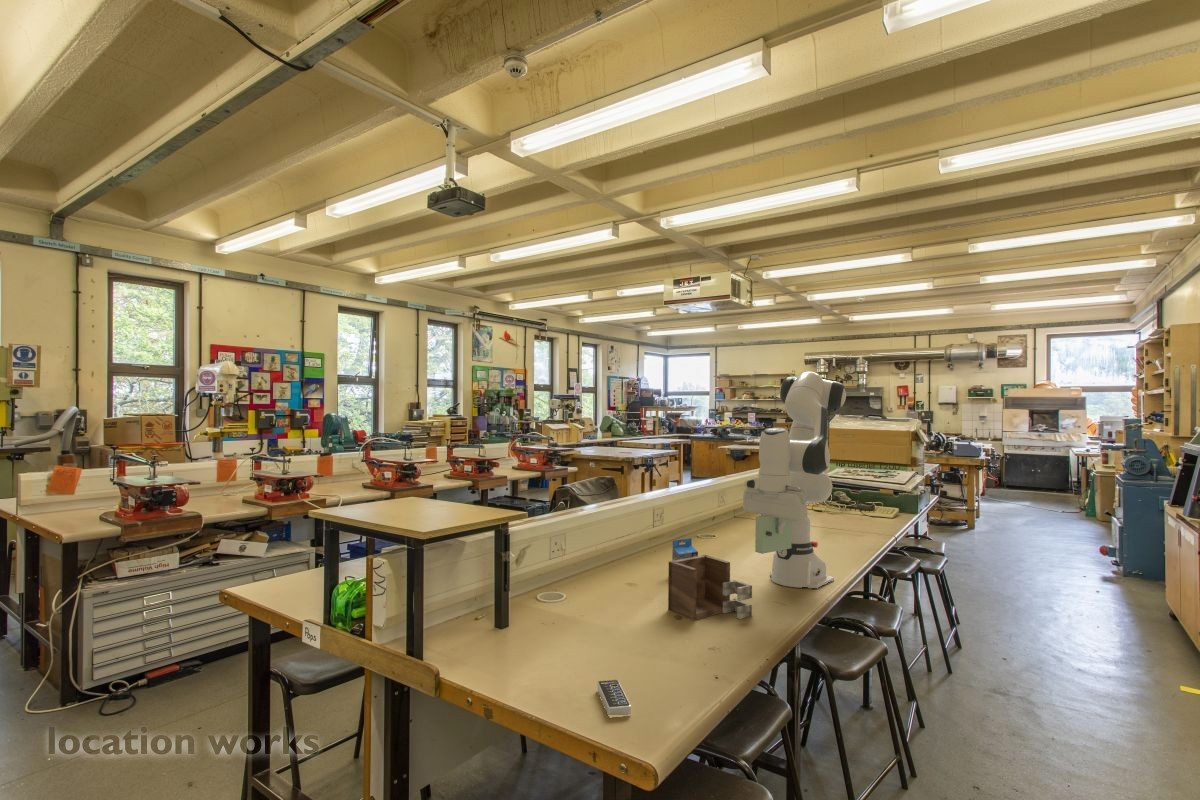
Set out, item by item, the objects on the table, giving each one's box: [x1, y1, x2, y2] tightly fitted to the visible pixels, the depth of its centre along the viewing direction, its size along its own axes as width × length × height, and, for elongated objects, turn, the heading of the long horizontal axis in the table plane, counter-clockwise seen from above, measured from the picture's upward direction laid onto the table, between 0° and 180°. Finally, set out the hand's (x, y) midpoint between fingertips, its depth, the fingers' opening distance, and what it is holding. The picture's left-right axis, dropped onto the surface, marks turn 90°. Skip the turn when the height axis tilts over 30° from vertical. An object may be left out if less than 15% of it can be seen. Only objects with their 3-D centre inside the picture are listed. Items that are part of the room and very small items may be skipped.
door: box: [754, 515, 792, 554], centre depth 164 cm, size 13×4×10 cm, turn 125°
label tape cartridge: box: [671, 537, 699, 561], centre depth 202 cm, size 9×4×12 cm, turn 120°
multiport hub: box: [596, 679, 632, 715], centre depth 112 cm, size 4×11×2 cm, turn 12°
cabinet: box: [667, 554, 753, 621], centre depth 164 cm, size 17×16×14 cm
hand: (773, 532), depth 164 cm, fingers closed on door, 2 cm apart
